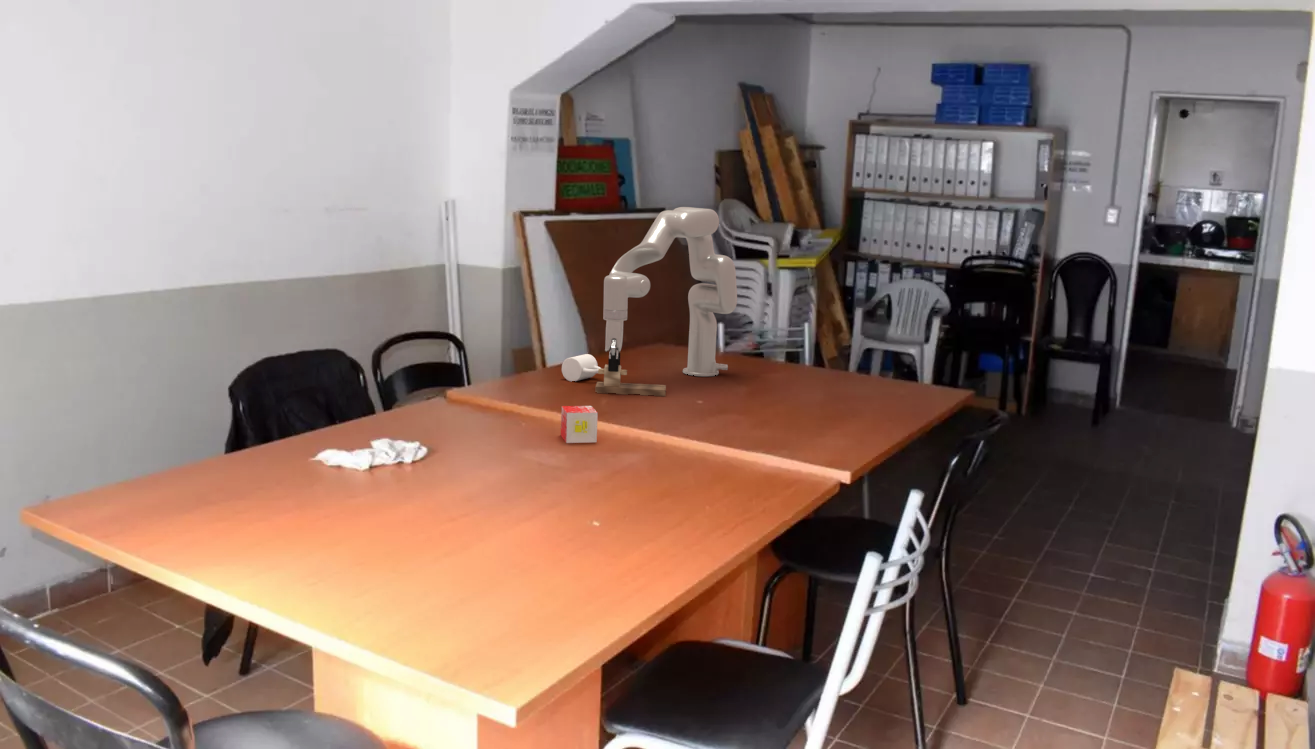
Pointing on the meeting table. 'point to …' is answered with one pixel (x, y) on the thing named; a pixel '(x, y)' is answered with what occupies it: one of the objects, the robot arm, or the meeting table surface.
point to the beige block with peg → (612, 376)
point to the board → (632, 389)
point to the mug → (579, 367)
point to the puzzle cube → (579, 424)
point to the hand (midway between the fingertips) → (614, 368)
